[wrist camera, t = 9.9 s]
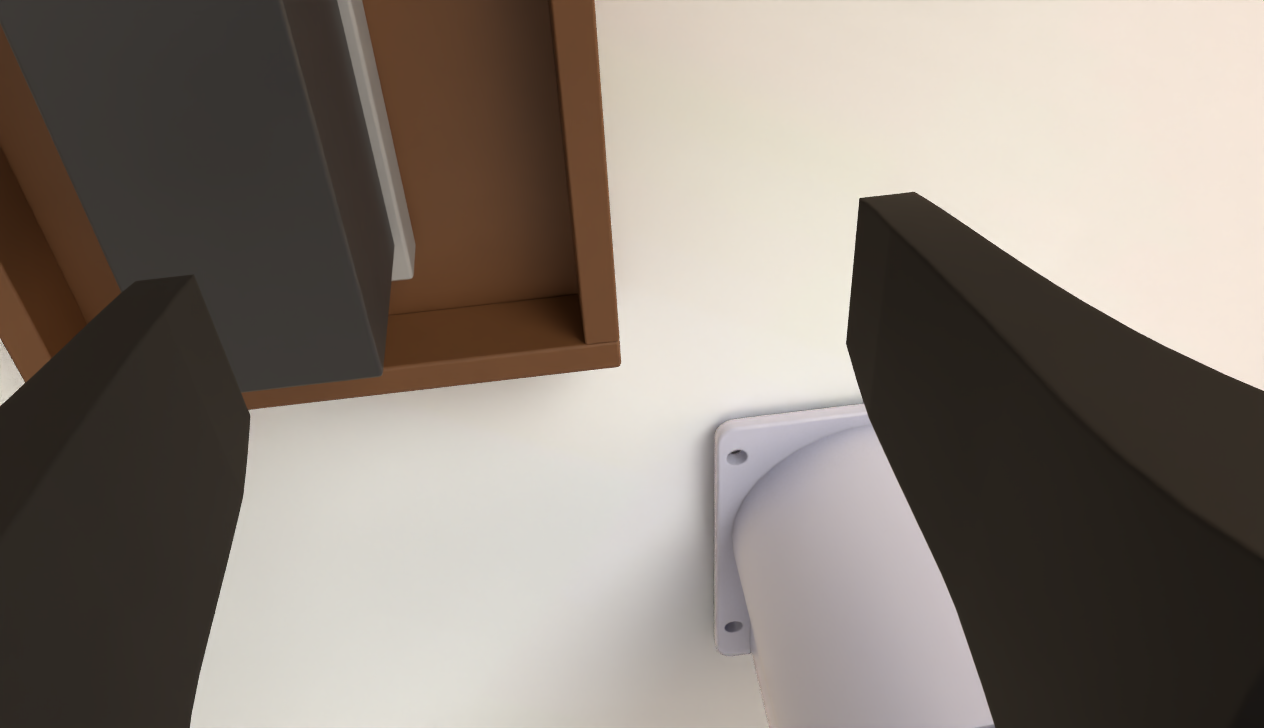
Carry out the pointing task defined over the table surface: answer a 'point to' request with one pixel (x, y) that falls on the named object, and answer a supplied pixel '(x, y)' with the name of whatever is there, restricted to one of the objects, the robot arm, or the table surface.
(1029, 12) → the table surface
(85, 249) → the tray
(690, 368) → the table surface
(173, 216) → the dark grey eraser block
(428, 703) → the table surface
